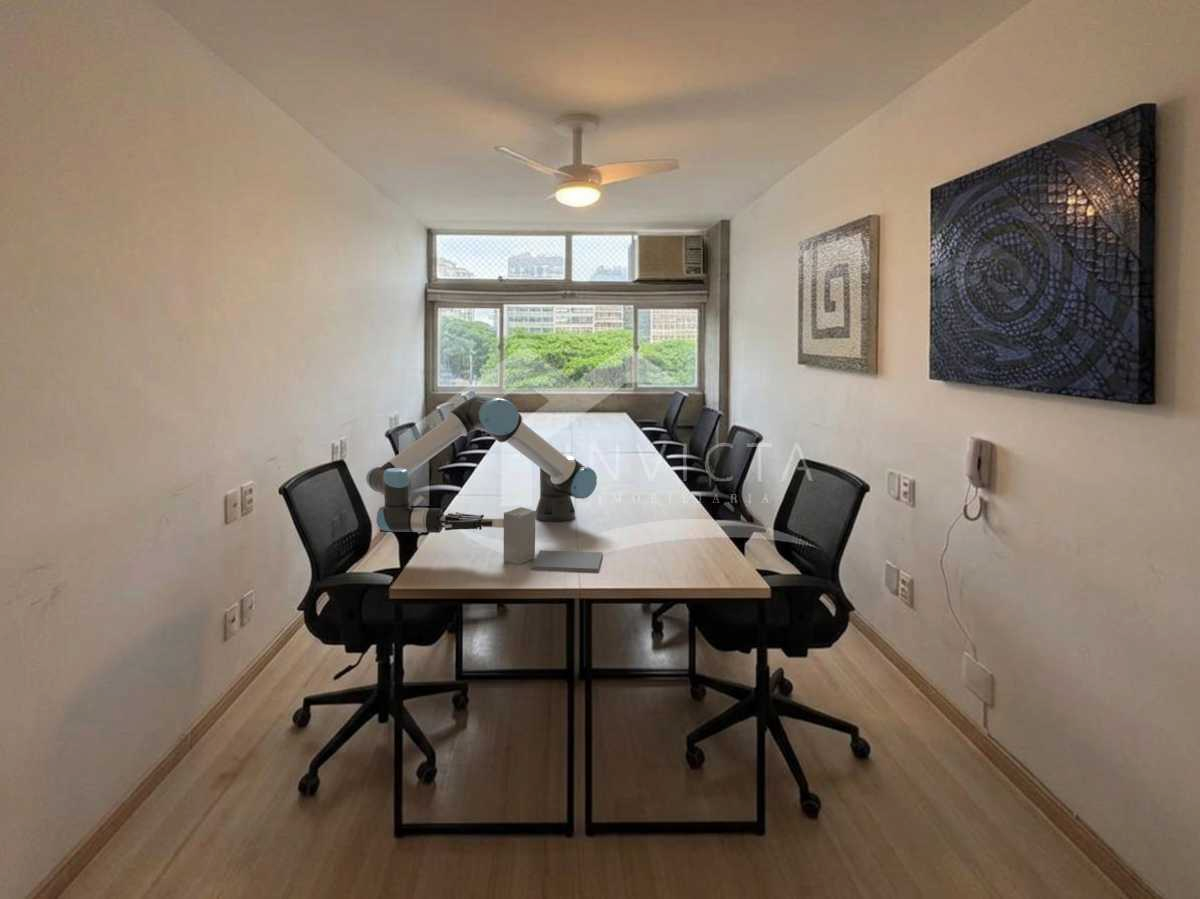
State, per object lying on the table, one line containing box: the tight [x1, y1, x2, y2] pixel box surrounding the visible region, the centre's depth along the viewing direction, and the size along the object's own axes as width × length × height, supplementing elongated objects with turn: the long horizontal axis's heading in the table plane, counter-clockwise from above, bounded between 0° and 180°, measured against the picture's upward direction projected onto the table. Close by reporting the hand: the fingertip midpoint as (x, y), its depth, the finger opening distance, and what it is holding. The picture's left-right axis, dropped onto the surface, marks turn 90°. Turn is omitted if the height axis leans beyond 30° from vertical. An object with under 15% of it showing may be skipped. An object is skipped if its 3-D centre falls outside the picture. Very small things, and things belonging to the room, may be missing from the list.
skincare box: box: [503, 506, 537, 566], centre depth 221 cm, size 8×7×16 cm
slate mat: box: [530, 549, 603, 573], centre depth 221 cm, size 20×16×1 cm
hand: (503, 522), depth 220 cm, fingers closed
